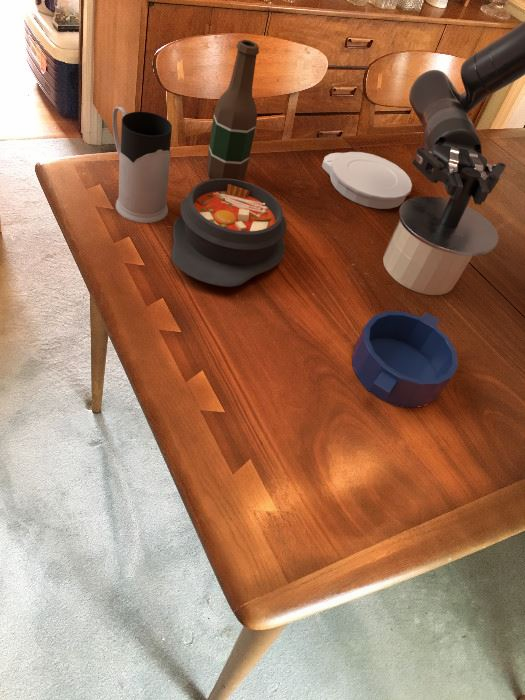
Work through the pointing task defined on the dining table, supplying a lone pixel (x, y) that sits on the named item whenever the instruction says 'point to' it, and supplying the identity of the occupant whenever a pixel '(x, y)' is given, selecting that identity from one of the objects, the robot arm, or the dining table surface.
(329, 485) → the dining table surface
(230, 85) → the beer bottle
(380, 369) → the pan
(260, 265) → the casserole
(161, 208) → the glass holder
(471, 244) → the steel lid
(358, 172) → the lid
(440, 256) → the pot
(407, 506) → the dining table surface
